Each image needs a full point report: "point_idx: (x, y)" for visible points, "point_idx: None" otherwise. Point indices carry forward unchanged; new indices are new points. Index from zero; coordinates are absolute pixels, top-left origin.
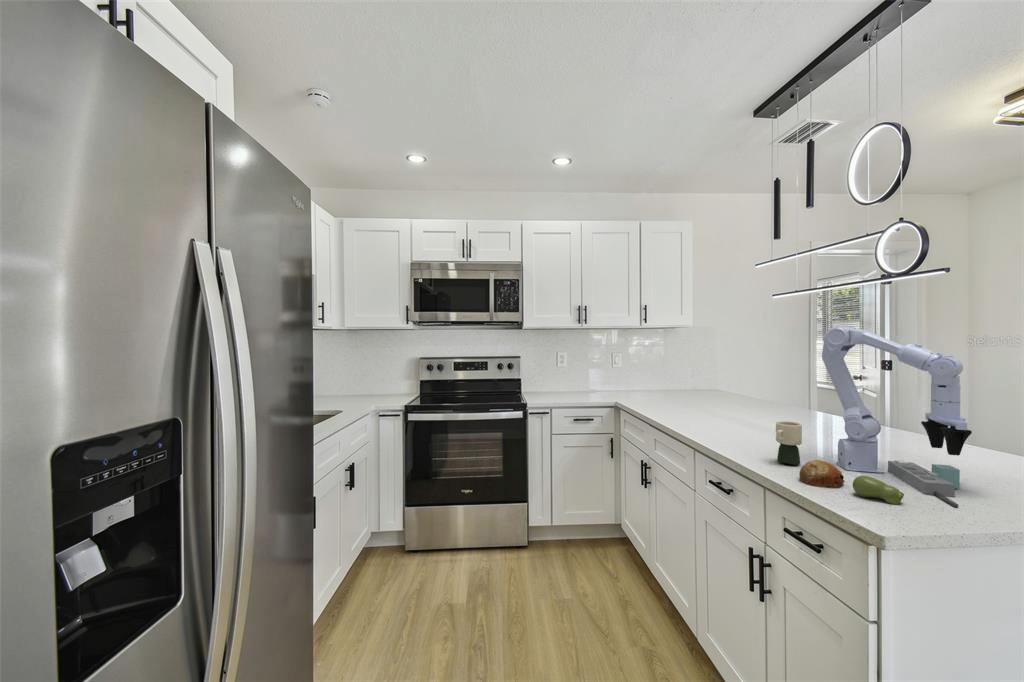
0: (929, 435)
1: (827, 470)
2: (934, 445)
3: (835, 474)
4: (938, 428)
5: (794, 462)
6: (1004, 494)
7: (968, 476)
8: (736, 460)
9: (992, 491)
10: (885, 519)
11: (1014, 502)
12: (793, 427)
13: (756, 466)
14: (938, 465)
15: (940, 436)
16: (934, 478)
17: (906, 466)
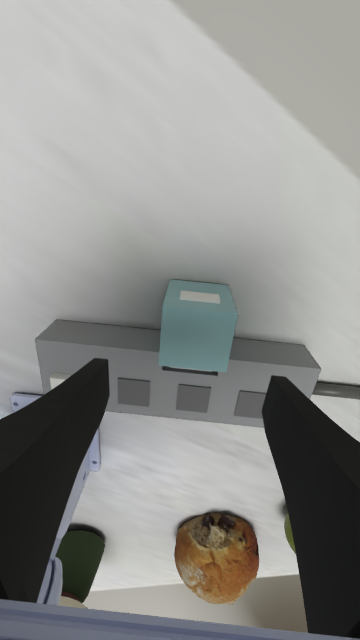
0: (75, 471)
1: (250, 580)
2: (103, 398)
3: (254, 563)
4: (38, 497)
5: (101, 547)
6: (263, 143)
7: (8, 108)
8: (94, 589)
9: (228, 167)
10: None
11: (357, 182)
12: None
13: (128, 578)
14: (176, 353)
15: (75, 421)
16: (253, 386)
17: (118, 393)
